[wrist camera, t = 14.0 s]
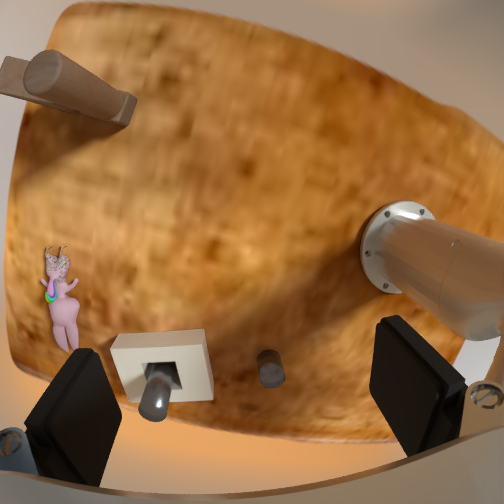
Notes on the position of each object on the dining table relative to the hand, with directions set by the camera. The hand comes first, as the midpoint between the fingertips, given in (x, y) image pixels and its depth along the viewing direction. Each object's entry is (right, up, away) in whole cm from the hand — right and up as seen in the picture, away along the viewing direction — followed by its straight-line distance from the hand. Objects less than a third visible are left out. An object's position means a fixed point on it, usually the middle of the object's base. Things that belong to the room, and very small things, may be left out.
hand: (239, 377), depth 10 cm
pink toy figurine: (-25, -2, +28) cm, 38 cm away
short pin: (+3, -11, +32) cm, 34 cm away
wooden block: (-18, +22, +22) cm, 36 cm away
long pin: (-11, -11, +31) cm, 35 cm away
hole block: (-11, -11, +31) cm, 35 cm away
